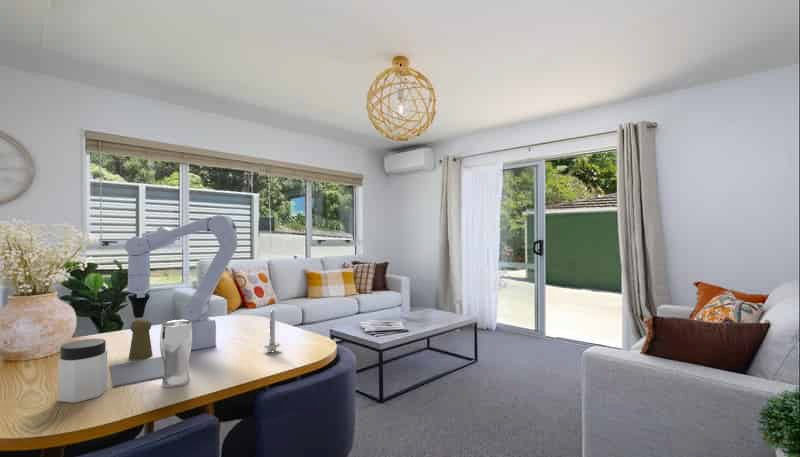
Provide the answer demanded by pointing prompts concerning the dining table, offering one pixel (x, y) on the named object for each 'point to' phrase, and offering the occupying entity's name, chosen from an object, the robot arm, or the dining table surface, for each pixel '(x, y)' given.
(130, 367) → the mat
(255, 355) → the dining table surface
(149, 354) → the cork
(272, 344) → the screw
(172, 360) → the beer glass
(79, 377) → the jar
